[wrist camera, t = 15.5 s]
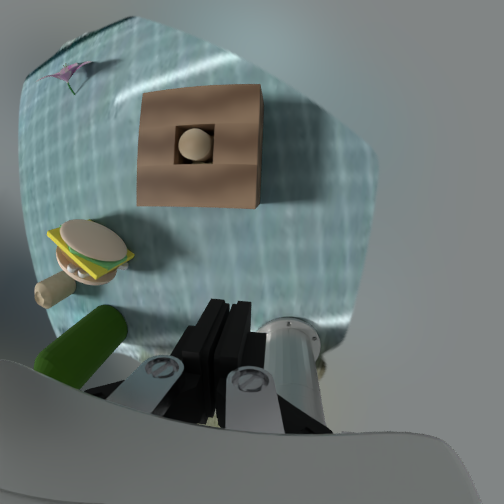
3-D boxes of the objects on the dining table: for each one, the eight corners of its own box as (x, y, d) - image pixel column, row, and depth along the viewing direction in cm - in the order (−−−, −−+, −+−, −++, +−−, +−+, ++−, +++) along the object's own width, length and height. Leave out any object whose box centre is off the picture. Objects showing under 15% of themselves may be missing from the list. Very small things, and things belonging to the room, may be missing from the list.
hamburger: (80, 244, 46) (40, 260, 35) (94, 209, 44) (51, 218, 33) (123, 279, 47) (86, 305, 35) (139, 244, 45) (101, 263, 33)
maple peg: (219, 163, 38) (207, 159, 31) (193, 163, 39) (177, 159, 32) (221, 137, 37) (210, 128, 30) (195, 137, 38) (179, 129, 31)
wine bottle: (88, 310, 50) (-15, 395, 18) (113, 298, 48) (-2, 394, 17) (109, 345, 52) (22, 441, 20) (135, 335, 50) (43, 448, 18)
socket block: (259, 203, 41) (255, 209, 33) (162, 201, 43) (136, 206, 34) (263, 104, 37) (260, 84, 29) (167, 108, 39) (142, 93, 30)
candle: (65, 265, 48) (35, 279, 38) (79, 285, 49) (50, 303, 39) (56, 278, 49) (27, 294, 39) (70, 298, 50) (42, 316, 40)
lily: (111, 75, 38) (91, 41, 29) (67, 116, 37) (40, 86, 27) (89, 68, 41) (71, 41, 32) (51, 104, 40) (30, 79, 30)
